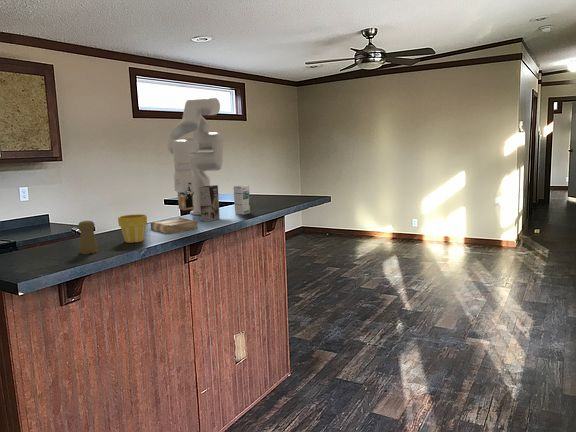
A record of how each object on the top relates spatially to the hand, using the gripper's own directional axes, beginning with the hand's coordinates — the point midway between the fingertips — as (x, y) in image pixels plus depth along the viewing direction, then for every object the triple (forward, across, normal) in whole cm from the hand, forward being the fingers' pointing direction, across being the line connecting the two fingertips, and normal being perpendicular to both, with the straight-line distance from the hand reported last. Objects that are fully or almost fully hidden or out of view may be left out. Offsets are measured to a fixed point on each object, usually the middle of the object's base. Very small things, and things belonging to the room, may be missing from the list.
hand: (186, 206), depth 221 cm
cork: (+5, +28, -54) cm, 61 cm away
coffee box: (+8, +1, +12) cm, 15 cm away
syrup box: (+9, -2, +33) cm, 34 cm away
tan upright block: (+1, 0, 0) cm, 1 cm away
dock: (+7, +10, -12) cm, 17 cm away
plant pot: (+6, +22, -35) cm, 42 cm away
